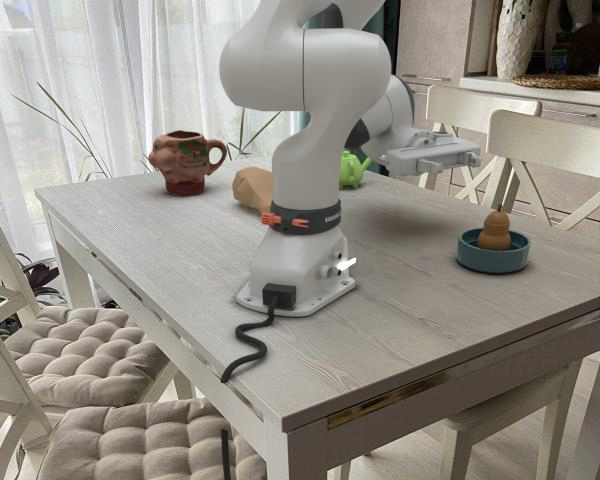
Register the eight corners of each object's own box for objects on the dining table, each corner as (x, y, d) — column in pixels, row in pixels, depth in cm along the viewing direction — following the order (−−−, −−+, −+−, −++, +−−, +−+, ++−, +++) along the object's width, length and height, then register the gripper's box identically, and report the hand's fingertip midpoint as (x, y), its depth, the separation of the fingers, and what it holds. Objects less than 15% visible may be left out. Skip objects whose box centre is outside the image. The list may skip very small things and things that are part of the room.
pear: (503, 266, 113) (514, 210, 107) (471, 261, 115) (480, 206, 109) (509, 255, 117) (520, 200, 111) (478, 250, 120) (487, 197, 114)
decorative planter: (220, 180, 167) (216, 125, 159) (236, 191, 158) (232, 133, 150) (148, 189, 160) (140, 133, 152) (160, 202, 151) (152, 142, 143)
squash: (265, 197, 154) (271, 161, 149) (296, 231, 140) (303, 192, 135) (224, 195, 149) (229, 157, 144) (252, 230, 136) (258, 190, 130)
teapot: (354, 193, 155) (355, 158, 150) (315, 187, 159) (315, 153, 155) (372, 182, 162) (374, 149, 158) (334, 177, 167) (335, 144, 162)
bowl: (519, 280, 109) (524, 256, 107) (448, 268, 114) (451, 245, 111) (531, 255, 119) (536, 233, 116) (465, 245, 124) (468, 223, 121)
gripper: (374, 141, 121) (417, 155, 111) (454, 130, 129) (501, 142, 118) (372, 174, 124) (414, 190, 114) (450, 162, 132) (496, 176, 122)
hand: (459, 166), depth 116 cm, fingers open, 8 cm apart
